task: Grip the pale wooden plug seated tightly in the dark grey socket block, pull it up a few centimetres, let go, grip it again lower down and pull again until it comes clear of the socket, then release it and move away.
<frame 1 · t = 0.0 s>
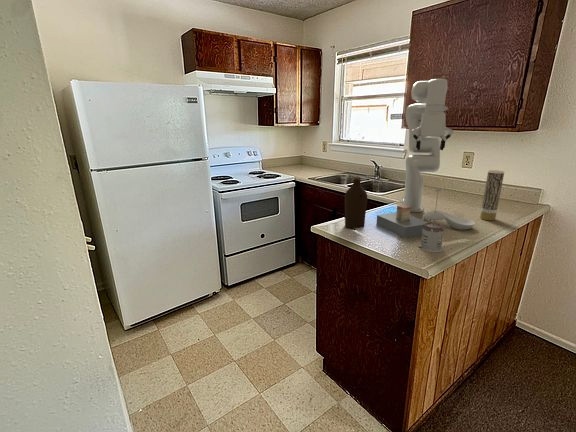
hand: (429, 149, 140), 37 cm above the counter, tool pointing down, fingers open, 9 cm apart
socket block: (401, 230, 147), on the counter
spoon rest: (446, 226, 153), on the counter
olive oil: (354, 227, 154), on the counter
paper tube: (487, 219, 162), on the counter
plug: (402, 217, 145), point 7 cm above the counter, slide at 0.0 cm
french press: (430, 247, 129), on the counter
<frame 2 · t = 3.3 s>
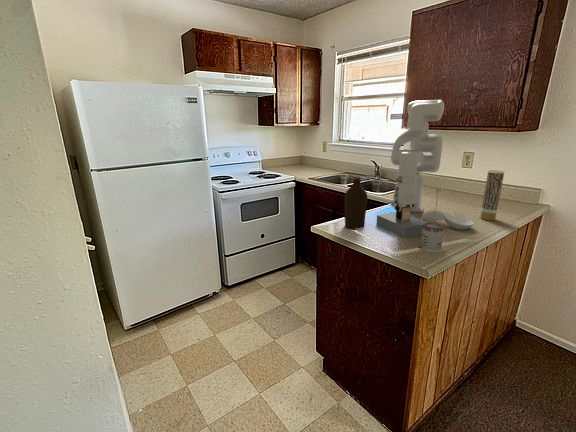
hand: (402, 217, 145), 7 cm above the counter, tool pointing down, fingers closed on plug, 4 cm apart
plug: (402, 217, 145), point 7 cm above the counter, slide at 0.0 cm, touching gripper
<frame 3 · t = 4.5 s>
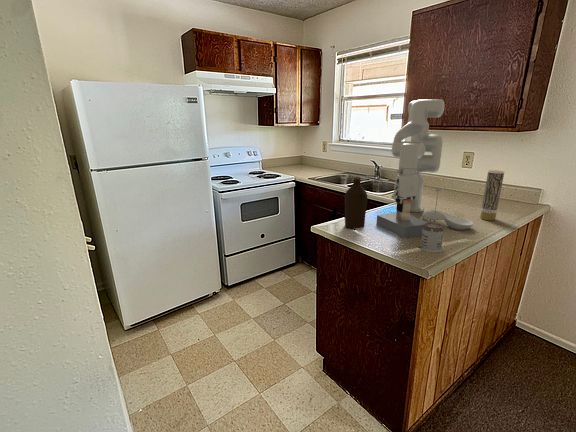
hand: (403, 210, 144), 10 cm above the counter, tool pointing down, fingers closed on plug, 4 cm apart
plug: (403, 210, 144), point 10 cm above the counter, slide at 3.7 cm, touching gripper
everything else where it was.
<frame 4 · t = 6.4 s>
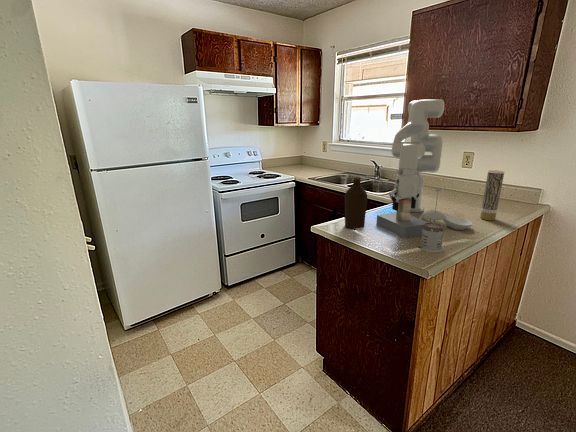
hand: (403, 208, 144), 11 cm above the counter, tool pointing down, fingers open, 9 cm apart
plug: (403, 210, 144), point 10 cm above the counter, slide at 3.8 cm
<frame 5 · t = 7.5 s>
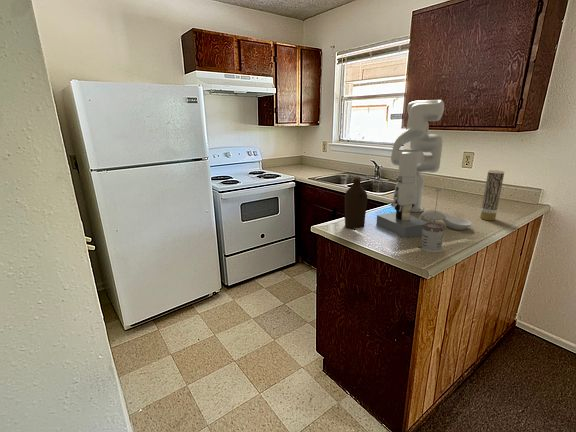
hand: (402, 217, 145), 6 cm above the counter, tool pointing down, fingers closed on plug, 4 cm apart
plug: (403, 210, 144), point 10 cm above the counter, slide at 3.7 cm, touching gripper
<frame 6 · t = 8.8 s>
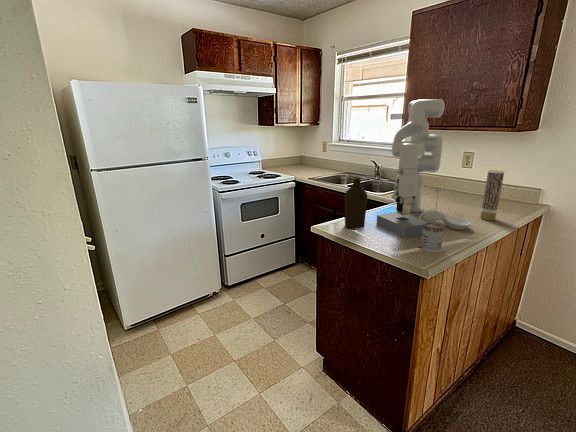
hand: (403, 210, 144), 10 cm above the counter, tool pointing down, fingers closed on plug, 4 cm apart
plug: (404, 202, 143), point 14 cm above the counter, slide at 7.4 cm, touching gripper
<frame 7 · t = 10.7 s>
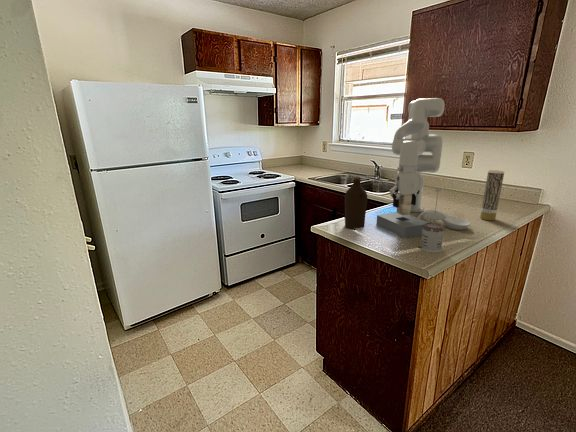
hand: (404, 205, 144), 12 cm above the counter, tool pointing down, fingers open, 9 cm apart
plug: (404, 202, 143), point 14 cm above the counter, slide at 7.5 cm
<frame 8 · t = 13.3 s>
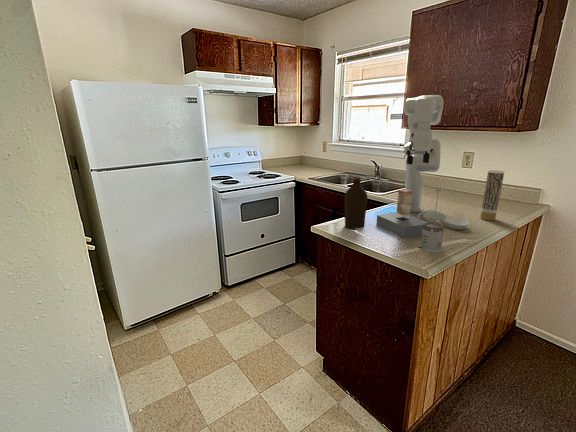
hand: (417, 163, 148), 30 cm above the counter, tool pointing down, fingers open, 9 cm apart
at the end: plug slide at 7.5 cm; the gripper is holding nothing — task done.
